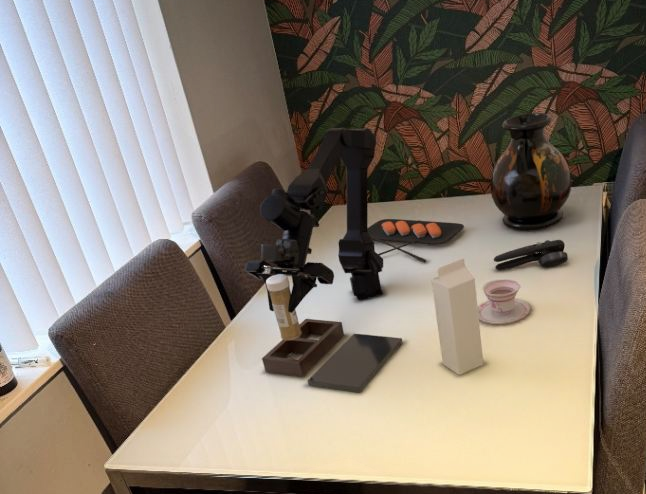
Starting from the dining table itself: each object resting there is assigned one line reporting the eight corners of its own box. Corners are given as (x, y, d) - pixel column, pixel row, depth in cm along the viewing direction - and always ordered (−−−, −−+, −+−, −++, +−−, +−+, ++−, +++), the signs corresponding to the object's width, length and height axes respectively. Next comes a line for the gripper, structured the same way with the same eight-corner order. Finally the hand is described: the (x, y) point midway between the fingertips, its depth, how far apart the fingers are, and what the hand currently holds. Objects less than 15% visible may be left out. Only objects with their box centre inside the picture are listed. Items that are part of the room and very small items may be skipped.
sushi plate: (468, 230, 214) (467, 217, 212) (415, 274, 194) (413, 260, 192) (382, 224, 229) (380, 212, 227) (325, 264, 209) (322, 251, 207)
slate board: (354, 338, 170) (353, 333, 169) (402, 342, 164) (402, 338, 164) (308, 385, 155) (307, 380, 155) (359, 392, 150) (358, 387, 149)
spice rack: (308, 332, 176) (305, 318, 174) (344, 335, 171) (341, 321, 170) (265, 372, 163) (261, 358, 161) (302, 377, 158) (299, 362, 157)
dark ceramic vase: (565, 236, 199) (561, 127, 185) (485, 237, 208) (475, 133, 193) (578, 206, 216) (575, 105, 201) (503, 208, 224) (495, 111, 210)
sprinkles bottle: (305, 335, 160) (291, 277, 153) (287, 343, 158) (271, 285, 151) (295, 328, 163) (281, 271, 156) (277, 336, 161) (261, 279, 154)
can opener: (564, 254, 190) (563, 233, 187) (569, 266, 184) (568, 244, 181) (493, 264, 191) (491, 243, 189) (495, 275, 186) (493, 254, 183)
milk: (483, 364, 151) (474, 262, 140) (458, 375, 149) (446, 273, 138) (466, 353, 156) (455, 253, 145) (441, 364, 154) (428, 263, 142)
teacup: (540, 306, 168) (539, 280, 165) (509, 329, 162) (507, 303, 158) (496, 296, 176) (494, 271, 173) (464, 318, 169) (461, 293, 166)
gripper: (237, 223, 155) (220, 296, 153) (314, 225, 147) (298, 302, 145) (267, 243, 165) (252, 312, 163) (341, 246, 157) (326, 319, 155)
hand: (280, 311), depth 156 cm, fingers closed on sprinkles bottle, 4 cm apart
